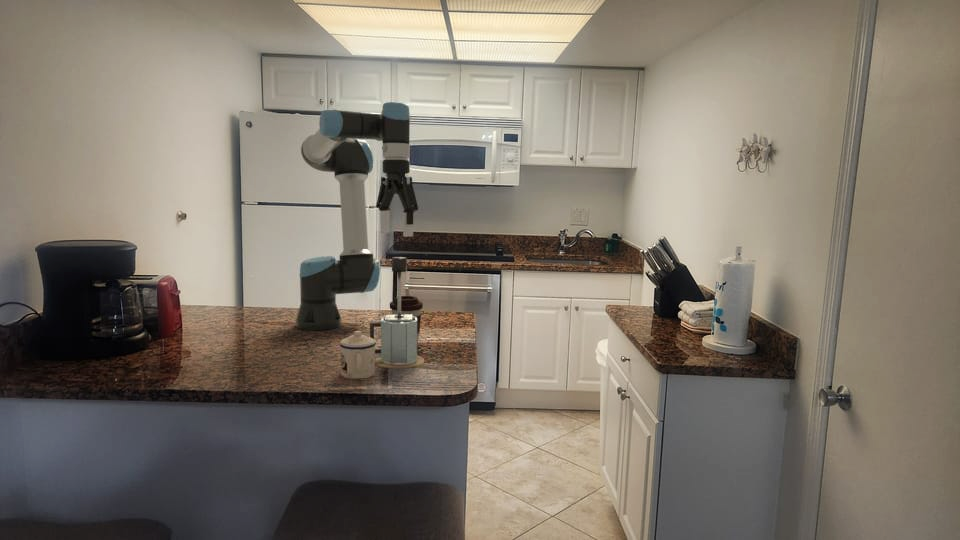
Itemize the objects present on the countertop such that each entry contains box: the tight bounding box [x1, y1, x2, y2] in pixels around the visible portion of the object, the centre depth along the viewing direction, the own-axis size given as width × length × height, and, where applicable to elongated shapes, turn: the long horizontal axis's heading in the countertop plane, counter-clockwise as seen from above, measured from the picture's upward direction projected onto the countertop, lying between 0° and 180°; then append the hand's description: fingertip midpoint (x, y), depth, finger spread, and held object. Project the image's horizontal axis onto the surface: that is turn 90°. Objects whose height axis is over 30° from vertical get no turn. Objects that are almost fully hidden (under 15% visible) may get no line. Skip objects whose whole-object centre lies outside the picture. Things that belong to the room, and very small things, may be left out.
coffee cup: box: [389, 295, 424, 346], centre depth 184 cm, size 10×10×15 cm
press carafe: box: [369, 314, 418, 366], centre depth 167 cm, size 10×13×12 cm
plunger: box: [391, 256, 408, 323], centre depth 165 cm, size 8×8×19 cm
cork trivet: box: [375, 354, 425, 369], centre depth 168 cm, size 14×14×1 cm
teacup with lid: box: [339, 330, 377, 379], centre depth 155 cm, size 12×9×12 cm
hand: (396, 234), depth 173 cm, fingers open, 13 cm apart
